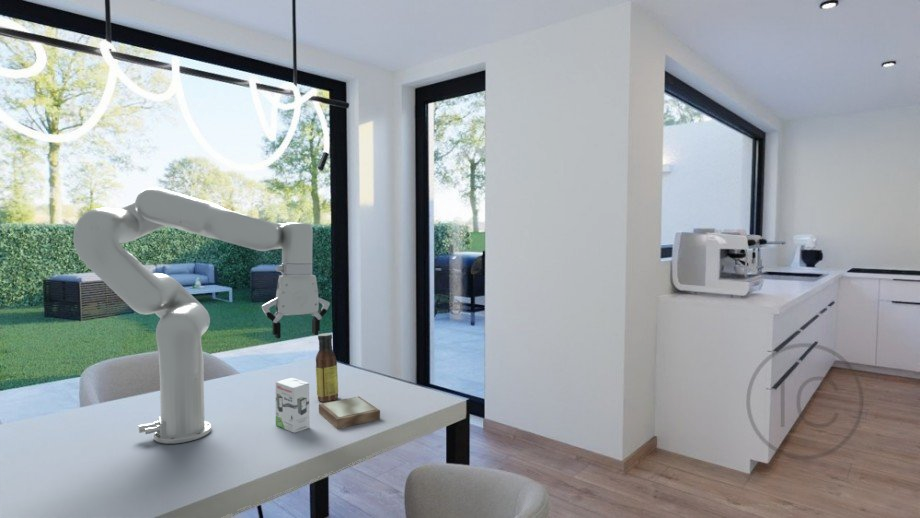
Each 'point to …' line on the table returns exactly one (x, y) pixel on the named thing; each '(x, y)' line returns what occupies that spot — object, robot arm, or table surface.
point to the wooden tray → (349, 412)
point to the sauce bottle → (326, 369)
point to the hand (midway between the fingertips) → (296, 335)
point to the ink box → (292, 404)
